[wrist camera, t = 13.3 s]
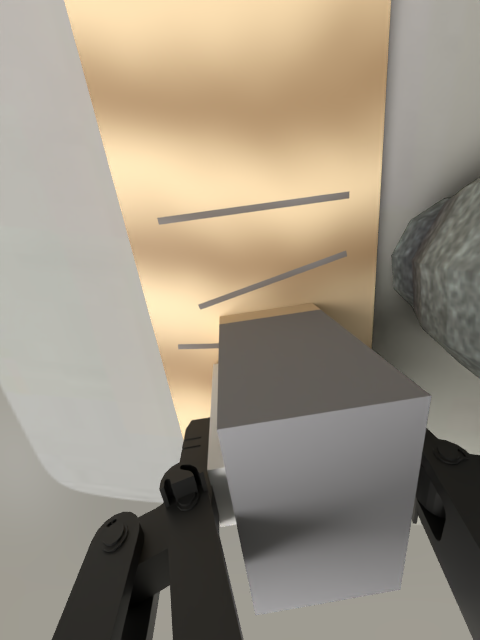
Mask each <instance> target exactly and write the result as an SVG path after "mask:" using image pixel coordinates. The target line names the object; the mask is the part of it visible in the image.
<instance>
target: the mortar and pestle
mask: <svg viewBox="0 0 480 640" xmlns="http://www.w3.org/2000/svg"><path fill="white" fill-rule="evenodd" d="M392 269H393V284H394V289H395V290H396V291H397V292H398V293H399V294H400V295H401V296H402V297H403V298H404V299H405V300H406V301H407V302H409V303H410V304H411V305H412V306H413V307H414V312H415V314H416V316H417V318H418V320H419V322H420V325H421V327H422V328H423V329H424V330H425V331H426V332H427V333H428V334H429V335H430V336H431V337H432V338H433V339H434V340H435V341H437V342H438V343H439V344H440V345H441V346H442V347H443V348H444V349H445V350H446V351H447V352H448V353H449V354H451V355H452V356H453V357H454V358H455V359H456V360H457V361H458V362H459V363H460V364H462V365H463V366H464V367H466V368H467V369H468V370H470V371H471V372H472V373H473V374H475V375H476V376H477V377H479V378H480V177H479V178H478V179H476V180H475V181H473V182H472V183H470V184H469V185H467V186H466V187H464V188H463V189H462V190H460V191H459V192H458V193H457V194H456V195H454V196H453V197H452V198H444V199H443V200H441V201H440V202H438V203H437V204H435V205H433V206H432V207H430V208H429V209H427V210H426V211H424V212H423V213H421V214H420V215H418V216H417V217H415V218H414V219H412V220H411V221H410V222H409V224H408V226H407V228H406V230H405V232H404V233H403V235H402V237H401V239H400V241H399V243H398V245H397V247H396V248H395V250H394V252H393V254H392Z"/></svg>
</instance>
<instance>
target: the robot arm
mask: <svg viewBox="0 0 480 640" xmlns="http://www.w3.org/2000/svg"><path fill="white" fill-rule="evenodd" d="M217 401H218V364H213V376H212V394H211V411H210V417H208V418H202V419H196V420H191V422H190V424H189V425H188V427H187V428H186V430H185V436H184V442H183V447H182V453H181V458H180V463H178V464H176V465H174V466H172V467H171V468H170V469H169V470H168V471H167V472H166V473H165V475H164V476H163V478H162V480H161V483H160V492H161V495H162V498H163V501H164V503H163V504H162V505H160V506H159V507H157V508H156V509H154V510H152V511H150V512H148V513H146V514H144V515H142V516H140V517H137V516H136V515H135V514H133V513H132V512H122V513H119V514H116V515H114V516H113V517H111V518H110V519H108V520H107V521H106V522H105V523H104V524H103V525H102V526H101V527H100V528H99V529H98V531H97V532H96V534H95V536H94V538H93V540H92V541H91V544H90V546H89V549H88V552H87V554H86V556H85V559H84V561H83V564H82V566H81V569H80V571H79V574H78V576H77V579H76V581H75V584H74V586H73V588H72V591H71V593H70V596H69V598H68V601H67V603H66V606H65V608H64V611H63V613H62V616H61V619H60V621H59V623H58V626H57V628H56V631H55V633H54V636H53V638H52V640H152V638H153V632H154V625H155V619H156V613H157V606H158V600H159V593H160V591H161V590H163V589H164V588H166V587H167V586H169V585H170V592H171V611H172V629H173V640H243V635H242V631H241V627H240V623H239V618H238V614H237V609H236V605H235V601H234V596H233V593H232V588H231V584H230V579H229V575H228V571H227V566H226V562H225V558H224V553H223V549H222V545H221V541H220V537H219V521H220V525H221V527H224V526H230V525H236V519H235V514H234V509H233V505H232V500H231V495H230V490H229V486H228V481H227V476H226V471H225V466H224V462H223V457H222V452H221V447H220V442H219V438H218V433H217ZM418 516H419V518H420V520H421V523H422V525H423V527H424V529H425V531H426V534H427V536H428V538H429V540H430V543H431V545H432V547H433V550H434V552H435V554H436V556H437V558H438V561H439V563H440V565H441V568H442V570H443V572H444V574H445V577H446V578H447V581H448V583H449V585H450V588H451V590H452V592H453V595H454V597H455V599H456V601H457V603H458V606H459V608H460V610H461V613H462V615H463V617H464V619H465V622H466V624H467V626H468V629H469V631H470V633H471V635H472V637H473V640H480V455H473V454H469V453H468V452H467V451H466V450H464V449H463V448H461V447H459V446H458V445H456V444H454V443H451V442H449V441H446V440H441V439H438V438H436V437H435V436H434V435H433V434H432V433H431V432H430V431H429V430H428V429H427V428H426V433H425V439H424V445H423V451H422V457H421V464H420V470H419V476H418V482H417V489H416V495H415V501H414V507H413V514H412V521H413V523H415V524H417V518H418Z"/></svg>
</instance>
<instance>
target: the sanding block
mask: <svg viewBox="0 0 480 640" xmlns="http://www.w3.org/2000/svg"><path fill="white" fill-rule="evenodd" d="M430 401H431V395H430V394H429V393H427V392H426V391H425V390H423V389H422V388H421V387H420V386H418V385H417V384H416V383H414V382H413V381H412V380H411V379H409V378H408V377H407V376H405V375H404V374H403V373H402V372H400V371H399V370H398V369H396V368H395V367H394V366H393V365H391V364H390V363H389V362H387V361H386V360H385V359H384V358H382V357H381V356H380V355H378V354H377V353H376V352H375V351H373V350H372V349H371V348H369V347H368V346H367V345H366V344H364V343H363V342H362V341H360V340H359V339H358V338H357V337H355V336H354V335H353V334H351V333H350V332H349V331H348V330H346V329H345V328H344V327H342V326H341V325H340V324H339V323H337V322H336V321H335V320H333V319H332V318H331V317H330V316H328V315H327V314H326V313H324V312H323V311H322V310H321V309H319V308H318V307H317V306H315V305H314V304H313V303H307V304H300V305H294V306H287V307H280V308H274V309H267V310H260V311H253V312H247V313H240V314H233V315H226V316H220V317H219V356H218V401H217V433H218V438H219V442H220V447H221V452H222V457H223V462H224V466H225V471H226V476H227V481H228V486H229V490H230V495H231V500H232V505H233V509H234V514H235V519H236V524H237V529H238V533H239V538H240V543H241V548H242V552H243V557H244V562H245V567H246V571H247V577H248V581H249V586H250V591H251V596H252V600H253V605H254V610H255V615H259V614H265V613H271V612H277V611H282V610H288V609H294V608H299V607H305V606H311V605H316V604H322V603H327V602H333V601H338V600H345V599H350V598H356V597H361V596H367V595H373V594H379V593H384V592H390V591H395V590H400V589H401V582H402V576H403V570H404V564H405V557H406V551H407V545H408V538H409V532H410V526H411V520H412V514H413V507H414V501H415V495H416V489H417V482H418V476H419V470H420V464H421V457H422V451H423V445H424V439H425V433H426V426H427V420H428V414H429V408H430Z"/></svg>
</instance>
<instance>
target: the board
mask: <svg viewBox="0 0 480 640" xmlns="http://www.w3.org/2000/svg"><path fill="white" fill-rule="evenodd" d="M64 1H65V5H66V9H67V13H68V16H69V20H70V24H71V27H72V31H73V35H74V38H75V42H76V46H77V49H78V53H79V57H80V60H81V64H82V68H83V71H84V75H85V79H86V82H87V86H88V90H89V94H90V97H91V101H92V105H93V108H94V112H95V116H96V119H97V123H98V127H99V130H100V134H101V138H102V141H103V145H104V149H105V152H106V156H107V160H108V163H109V167H110V171H111V174H112V178H113V182H114V186H115V189H116V193H117V197H118V200H119V204H120V208H121V211H122V215H123V219H124V222H125V226H126V230H127V233H128V237H129V241H130V244H131V248H132V252H133V255H134V259H135V263H136V266H137V270H138V274H139V278H140V281H141V285H142V289H143V292H144V296H145V300H146V303H147V307H148V311H149V314H150V318H151V322H152V325H153V329H154V333H155V336H156V340H157V344H158V347H159V351H160V355H161V358H162V362H163V366H164V370H165V373H166V377H167V381H168V384H169V388H170V392H171V395H172V399H173V403H174V406H175V410H176V414H177V417H178V421H179V425H180V428H181V432H182V436H183V439H184V436H185V430H186V428H187V427H188V425H189V424H190V422H191V420H196V419H202V418H208V417H210V411H211V394H212V376H213V364H218V356H219V317H220V316H226V315H233V314H240V313H247V312H253V311H260V310H267V309H274V308H280V307H287V306H294V305H300V304H307V303H313V304H314V305H315V306H317V307H318V308H319V309H321V310H322V311H323V312H324V313H326V314H327V315H328V316H330V317H331V318H332V319H333V320H335V321H336V322H337V323H339V324H340V325H341V326H342V327H344V328H345V329H346V330H348V331H349V332H350V333H351V334H353V335H354V336H355V337H357V338H358V339H359V340H360V341H362V342H363V343H364V344H366V345H367V346H368V347H369V348H371V349H372V333H373V315H374V297H375V279H376V261H377V243H378V225H379V207H380V188H381V170H382V152H383V134H384V116H385V98H386V80H387V62H388V44H389V26H390V8H391V0H64Z"/></svg>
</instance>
